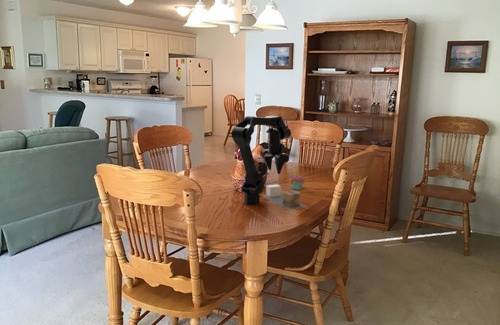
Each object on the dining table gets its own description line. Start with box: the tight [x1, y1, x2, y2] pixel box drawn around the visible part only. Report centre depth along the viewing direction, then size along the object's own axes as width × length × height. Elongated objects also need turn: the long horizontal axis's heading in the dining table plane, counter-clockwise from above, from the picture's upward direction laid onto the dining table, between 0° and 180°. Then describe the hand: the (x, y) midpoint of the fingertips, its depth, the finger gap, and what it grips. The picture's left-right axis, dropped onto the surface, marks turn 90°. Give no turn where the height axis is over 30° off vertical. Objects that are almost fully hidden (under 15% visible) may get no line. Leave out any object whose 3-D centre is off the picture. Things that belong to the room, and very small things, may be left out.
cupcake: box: [288, 168, 306, 191], centre depth 229 cm, size 9×8×12 cm
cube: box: [282, 189, 302, 207], centre depth 198 cm, size 6×6×6 cm
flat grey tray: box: [260, 183, 308, 210], centre depth 205 cm, size 11×25×6 cm, turn 27°
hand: (274, 171), depth 211 cm, fingers open, 9 cm apart
